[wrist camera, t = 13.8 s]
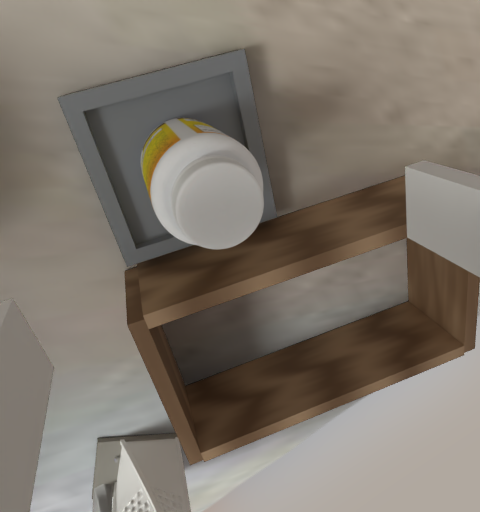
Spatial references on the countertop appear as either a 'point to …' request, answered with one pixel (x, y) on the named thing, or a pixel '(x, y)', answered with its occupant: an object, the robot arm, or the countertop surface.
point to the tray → (139, 128)
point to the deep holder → (309, 351)
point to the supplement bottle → (202, 183)
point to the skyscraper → (140, 475)
